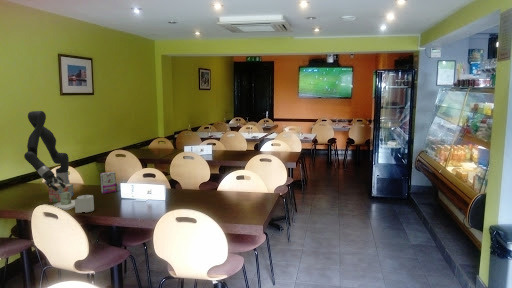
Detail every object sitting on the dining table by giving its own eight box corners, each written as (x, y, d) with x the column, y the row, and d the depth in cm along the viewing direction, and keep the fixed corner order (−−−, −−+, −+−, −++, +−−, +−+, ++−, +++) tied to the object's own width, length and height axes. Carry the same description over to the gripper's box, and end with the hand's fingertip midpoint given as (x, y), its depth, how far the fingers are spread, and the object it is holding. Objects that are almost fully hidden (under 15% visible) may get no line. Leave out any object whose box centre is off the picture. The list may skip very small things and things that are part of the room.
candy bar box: (114, 190, 353) (113, 171, 351) (116, 191, 349) (115, 172, 347) (101, 192, 346) (99, 173, 344) (103, 193, 342) (102, 174, 340)
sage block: (65, 202, 310) (64, 192, 309) (71, 202, 309) (70, 192, 308) (60, 204, 305) (60, 193, 304) (67, 204, 304) (66, 194, 303)
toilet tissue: (96, 208, 300) (95, 194, 298) (90, 213, 288) (89, 199, 287) (81, 208, 299) (80, 195, 298) (74, 213, 287) (73, 199, 286)
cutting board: (65, 201, 319) (65, 199, 319) (84, 202, 316) (84, 200, 316) (47, 209, 299) (47, 206, 299) (67, 210, 296) (67, 207, 296)
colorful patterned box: (66, 195, 339) (65, 180, 338) (73, 195, 338) (72, 180, 337) (49, 202, 319) (48, 186, 317) (56, 202, 317) (55, 186, 316)
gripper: (42, 171, 300) (57, 187, 299) (55, 167, 313) (70, 183, 313) (36, 178, 301) (51, 194, 301) (49, 174, 315) (64, 190, 315)
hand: (61, 188), depth 307 cm, fingers open, 8 cm apart
